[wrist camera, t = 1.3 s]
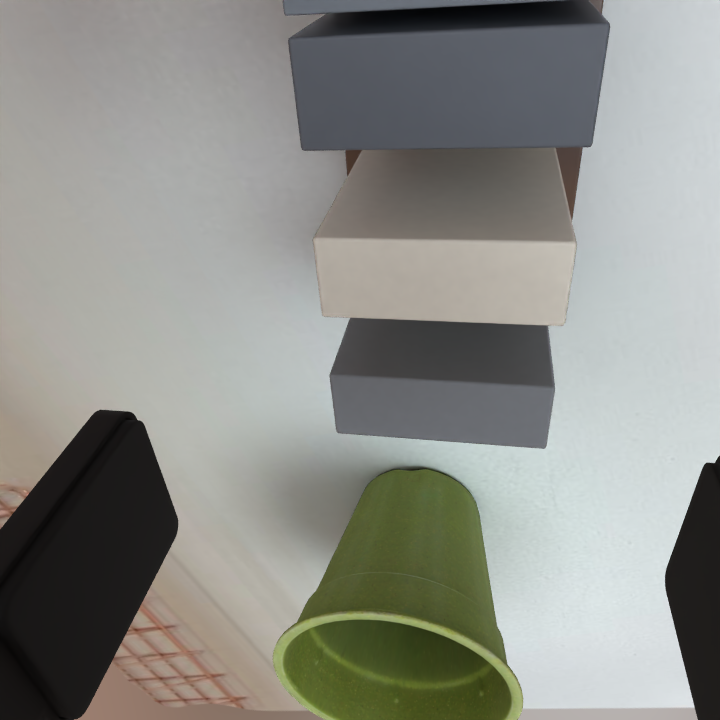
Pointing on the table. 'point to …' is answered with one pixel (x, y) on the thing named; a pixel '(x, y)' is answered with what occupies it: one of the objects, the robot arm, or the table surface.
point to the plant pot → (403, 614)
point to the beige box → (449, 238)
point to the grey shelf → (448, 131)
